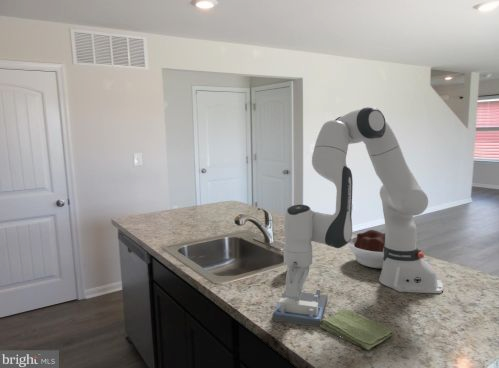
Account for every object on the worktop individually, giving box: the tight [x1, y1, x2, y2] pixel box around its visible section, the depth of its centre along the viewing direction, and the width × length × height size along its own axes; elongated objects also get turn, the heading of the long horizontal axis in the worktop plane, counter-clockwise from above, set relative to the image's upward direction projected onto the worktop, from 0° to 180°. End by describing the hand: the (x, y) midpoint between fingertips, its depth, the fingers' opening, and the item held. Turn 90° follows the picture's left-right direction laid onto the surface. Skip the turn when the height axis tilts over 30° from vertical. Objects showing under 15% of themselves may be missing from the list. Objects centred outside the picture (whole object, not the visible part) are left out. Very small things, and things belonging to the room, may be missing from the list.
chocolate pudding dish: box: [346, 229, 385, 269], centre depth 162 cm, size 25×25×15 cm
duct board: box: [272, 287, 328, 328], centre depth 123 cm, size 15×18×4 cm
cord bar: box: [278, 298, 318, 316], centre depth 118 cm, size 12×3×3 cm, turn 72°
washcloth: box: [321, 309, 394, 351], centre depth 109 cm, size 13×18×3 cm
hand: (297, 299), depth 118 cm, fingers closed
